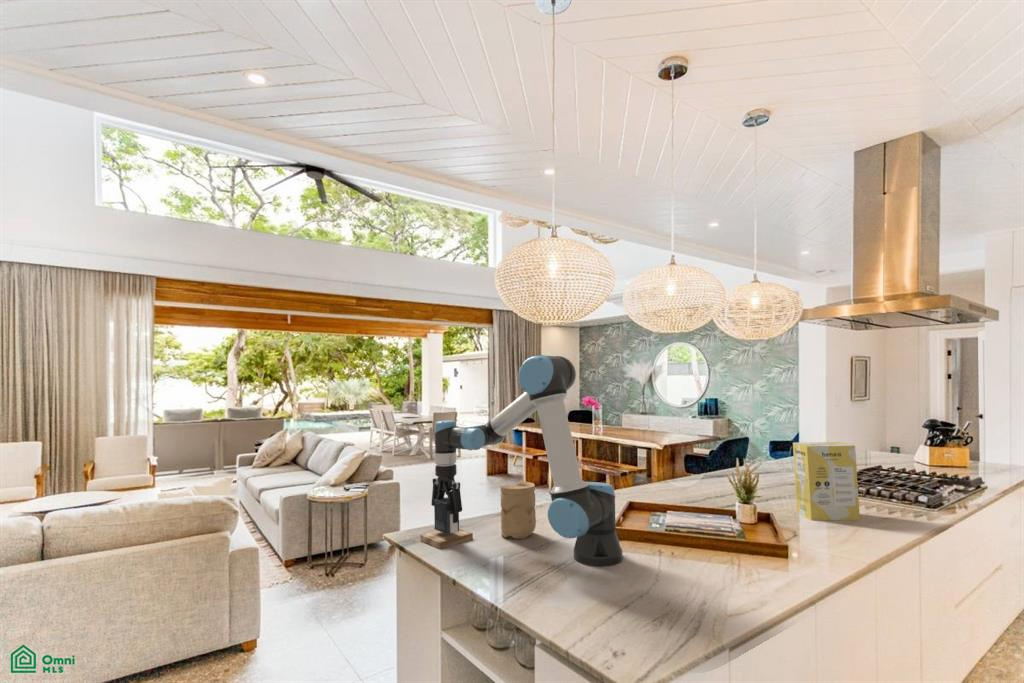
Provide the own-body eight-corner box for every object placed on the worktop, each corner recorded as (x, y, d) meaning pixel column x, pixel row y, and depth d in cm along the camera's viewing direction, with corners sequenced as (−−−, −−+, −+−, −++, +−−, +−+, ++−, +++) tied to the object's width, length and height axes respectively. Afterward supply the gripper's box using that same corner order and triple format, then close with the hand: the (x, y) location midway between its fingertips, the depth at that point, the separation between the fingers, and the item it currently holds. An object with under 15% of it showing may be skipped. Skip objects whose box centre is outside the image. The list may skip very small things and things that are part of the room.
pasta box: (842, 512, 203) (838, 441, 204) (859, 519, 192) (855, 445, 194) (796, 512, 203) (792, 442, 205) (811, 520, 193) (806, 446, 195)
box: (459, 530, 177) (459, 500, 178) (445, 534, 174) (445, 503, 174) (447, 526, 183) (447, 496, 184) (434, 529, 180) (433, 499, 180)
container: (494, 535, 182) (493, 485, 183) (519, 528, 190) (518, 479, 192) (517, 543, 173) (516, 490, 174) (543, 535, 181) (542, 484, 182)
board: (472, 539, 179) (472, 532, 179) (440, 548, 169) (439, 542, 169) (452, 531, 187) (452, 526, 188) (420, 540, 178) (420, 534, 178)
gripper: (472, 466, 175) (473, 533, 173) (437, 459, 190) (438, 521, 189) (454, 469, 170) (455, 538, 168) (420, 462, 185) (421, 525, 184)
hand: (446, 529), depth 178 cm, fingers closed on box, 8 cm apart
